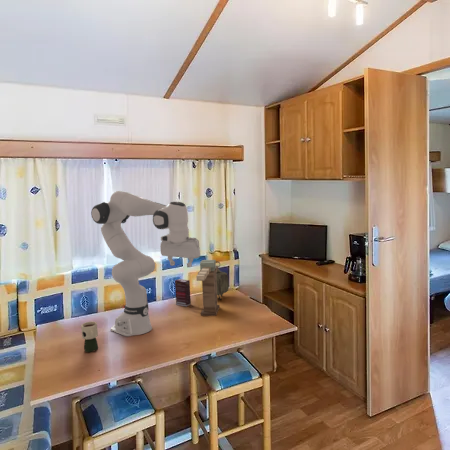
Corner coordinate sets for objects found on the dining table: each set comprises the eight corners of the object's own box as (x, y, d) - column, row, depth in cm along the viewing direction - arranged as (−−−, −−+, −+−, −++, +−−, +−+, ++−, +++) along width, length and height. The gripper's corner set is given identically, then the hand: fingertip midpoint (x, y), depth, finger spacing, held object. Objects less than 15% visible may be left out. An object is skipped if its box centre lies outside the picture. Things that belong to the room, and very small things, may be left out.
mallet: (207, 280, 197) (207, 271, 196) (192, 280, 198) (192, 271, 197) (215, 268, 223) (215, 259, 223) (202, 268, 224) (202, 259, 224)
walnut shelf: (215, 317, 215) (213, 273, 211) (199, 317, 216) (197, 273, 213) (219, 306, 232) (218, 265, 229) (205, 306, 234) (203, 265, 230)
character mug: (81, 348, 182) (78, 322, 180) (96, 344, 186) (94, 319, 184) (85, 356, 173) (83, 329, 171) (101, 352, 176) (99, 326, 175)
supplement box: (191, 304, 239) (190, 280, 237) (186, 306, 235) (185, 282, 233) (180, 302, 243) (179, 278, 241) (175, 304, 239) (174, 280, 237)
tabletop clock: (222, 294, 256) (220, 258, 253) (230, 297, 249) (229, 260, 245) (204, 299, 247) (203, 262, 244) (213, 303, 240) (211, 264, 237)
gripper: (202, 236, 171) (203, 266, 173) (165, 235, 181) (167, 263, 183) (194, 239, 166) (196, 269, 168) (157, 237, 175) (159, 266, 177)
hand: (180, 266), depth 175 cm, fingers open, 8 cm apart
